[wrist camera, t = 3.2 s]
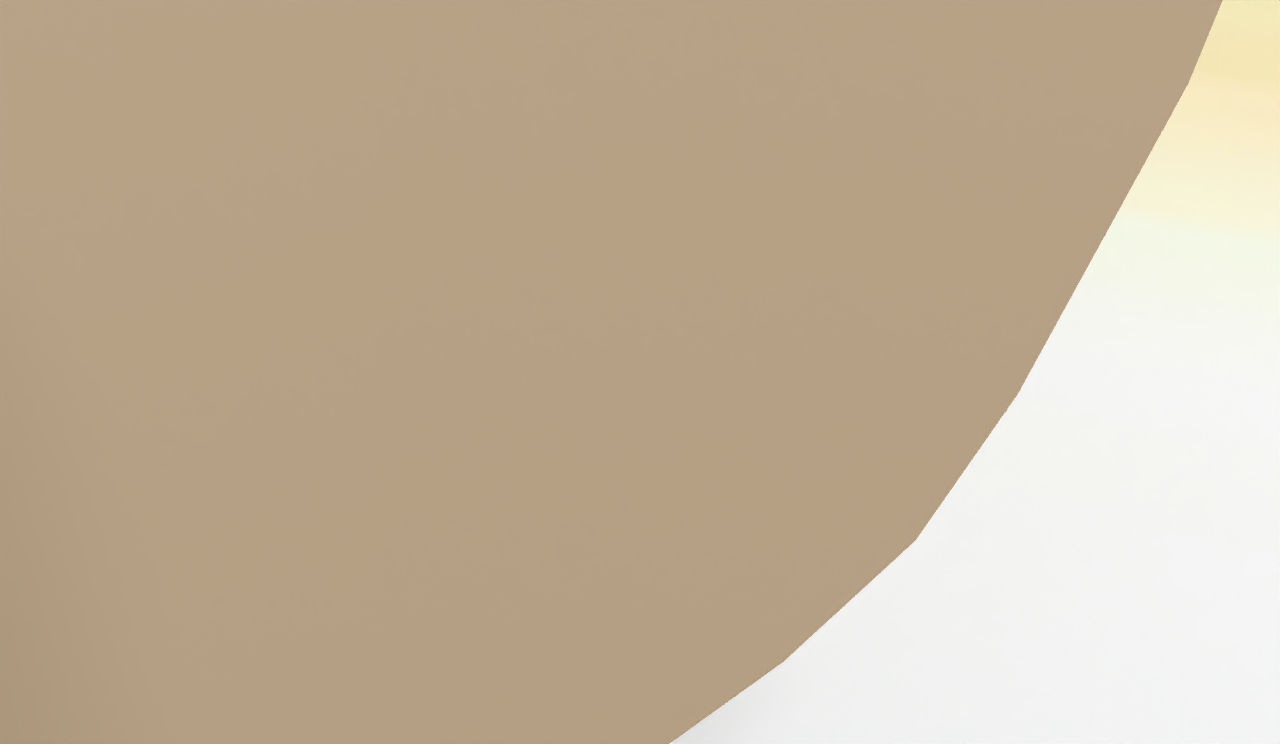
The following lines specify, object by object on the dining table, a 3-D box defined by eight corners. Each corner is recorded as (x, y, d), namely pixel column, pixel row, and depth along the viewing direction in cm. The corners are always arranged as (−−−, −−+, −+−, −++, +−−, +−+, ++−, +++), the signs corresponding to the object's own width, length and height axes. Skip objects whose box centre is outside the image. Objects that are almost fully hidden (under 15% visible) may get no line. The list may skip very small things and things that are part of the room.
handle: (443, 479, 18) (-776, 390, 3) (635, 150, 19) (272, -1199, 4) (696, 629, 18) (524, 1297, 3) (889, 285, 18) (1617, -697, 3)
